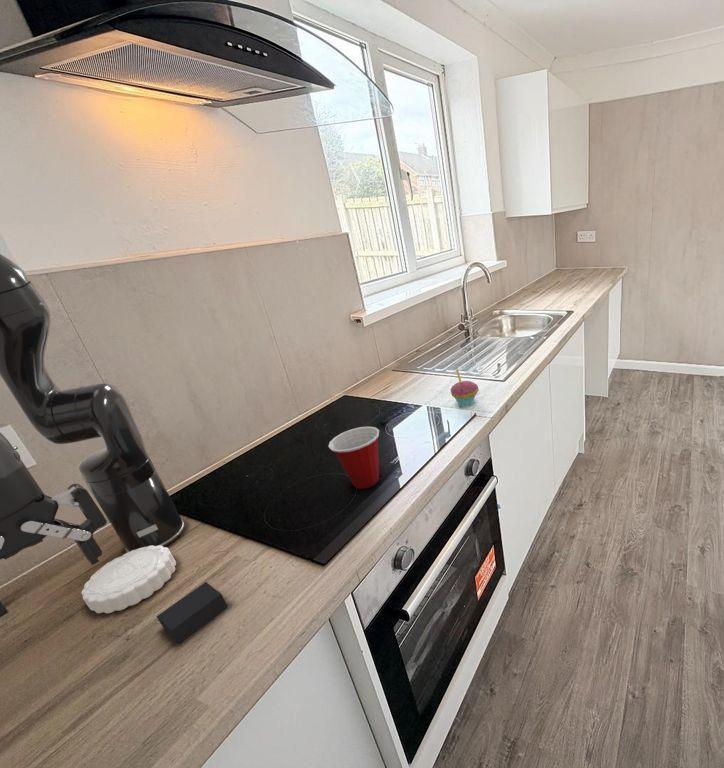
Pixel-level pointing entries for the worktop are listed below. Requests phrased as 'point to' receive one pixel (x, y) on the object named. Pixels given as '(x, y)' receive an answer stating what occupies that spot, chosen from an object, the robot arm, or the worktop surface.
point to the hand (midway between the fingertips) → (50, 585)
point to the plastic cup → (358, 455)
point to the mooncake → (128, 579)
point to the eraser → (192, 612)
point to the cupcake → (464, 391)
